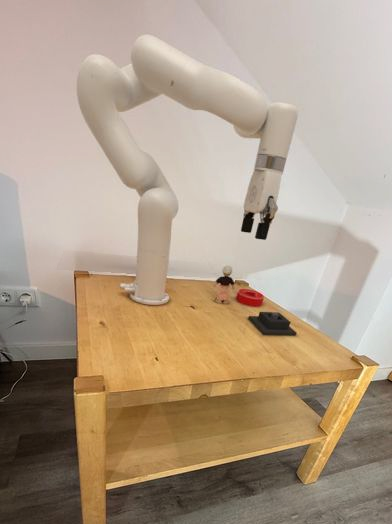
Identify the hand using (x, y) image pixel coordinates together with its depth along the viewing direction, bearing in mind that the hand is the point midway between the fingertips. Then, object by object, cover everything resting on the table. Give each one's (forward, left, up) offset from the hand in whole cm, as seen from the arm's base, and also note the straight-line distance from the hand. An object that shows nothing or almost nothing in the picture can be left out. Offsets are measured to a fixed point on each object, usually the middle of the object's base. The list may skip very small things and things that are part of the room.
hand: (252, 235), depth 84 cm
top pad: (+9, -9, -23) cm, 27 cm away
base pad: (+9, -9, -24) cm, 27 cm away
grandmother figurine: (-1, +10, -24) cm, 26 cm away
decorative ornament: (+11, +12, -24) cm, 29 cm away
